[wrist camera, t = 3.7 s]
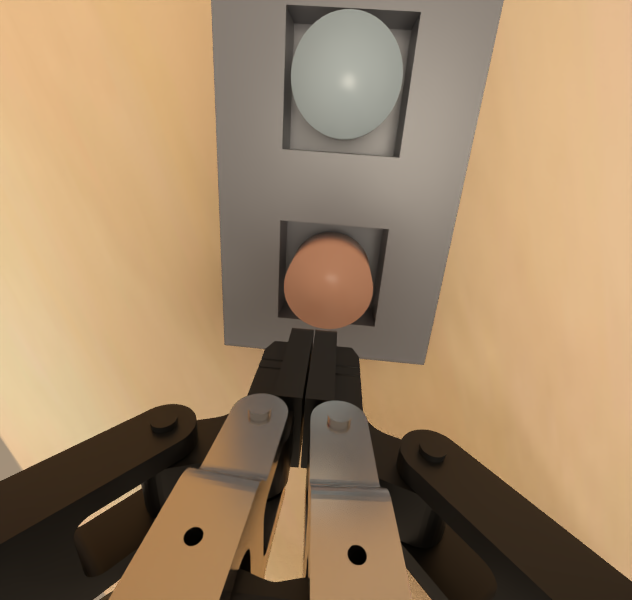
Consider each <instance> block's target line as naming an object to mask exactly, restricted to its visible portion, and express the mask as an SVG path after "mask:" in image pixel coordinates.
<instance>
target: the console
mask: <svg viewBox="0 0 632 600" xmlns="http://www.w3.org/2000/svg"><path fill="white" fill-rule="evenodd" d="M503 1H504V0H211V7H212V33H213V58H214V84H215V110H216V136H217V161H218V187H219V213H220V239H221V265H222V290H223V316H224V342H225V345H230V346H240V347H250V348H260V349H265V348H267V347H268V346H269V345H270V344H272V343H273V342H274V341H283V342H288V340H289V337H290V333H291V330H292V328H302V329H314V337H315V330H326V331H337V346H339V347H350V348H353V350H354V351H355V352H356V354H357V355H358V356H359V358H360V359H370V360H380V361H390V362H400V363H410V364H420V365H424V363H425V358H426V353H427V349H428V344H429V340H430V335H431V331H432V326H433V321H434V317H435V312H436V308H437V303H438V299H439V294H440V289H441V285H442V280H443V276H444V271H445V267H446V262H447V257H448V253H449V248H450V244H451V239H452V235H453V230H454V225H455V221H456V216H457V212H458V207H459V203H460V198H461V193H462V189H463V184H464V180H465V175H466V171H467V166H468V161H469V157H470V152H471V148H472V143H473V139H474V134H475V129H476V125H477V120H478V116H479V111H480V107H481V102H482V97H483V93H484V88H485V84H486V79H487V75H488V70H489V65H490V61H491V56H492V52H493V47H494V43H495V38H496V33H497V29H498V24H499V20H500V15H501V11H502V6H503ZM342 9H356V10H361V11H365V12H368V13H370V14H372V15H374V16H375V17H377V18H378V19H380V20H381V21H382V22H383V23H384V24H385V25H386V26H387V27H388V28H389V30H390V31H391V32H392V34H393V36H394V37H395V39H396V41H397V44H398V46H399V49H400V52H401V56H402V63H403V78H402V85H401V90H400V93H399V96H398V99H397V101H396V103H395V106H394V107H393V109H392V111H391V112H390V114H389V115H388V116H387V118H386V119H385V120H384V121H383V122H382V123H381V124H380V125H379V126H378V127H376V128H375V129H374V130H372V131H371V132H369V133H368V134H366V135H364V136H362V137H360V138H356V139H352V140H338V139H334V138H330V137H328V136H326V135H324V134H322V133H321V132H319V131H317V130H316V129H315V128H313V127H312V126H311V125H310V124H309V123H308V122H307V121H306V120H305V118H304V117H303V116H302V114H301V113H300V111H299V109H298V107H297V105H296V102H295V99H294V96H293V92H292V86H291V68H292V62H293V57H294V54H295V51H296V48H297V46H298V44H299V42H300V40H301V38H302V37H303V35H304V34H305V33H306V31H307V30H308V29H309V28H310V27H311V26H312V25H313V24H314V23H315V22H316V21H317V20H319V19H320V18H321V17H323V16H325V15H327V14H329V13H331V12H334V11H337V10H342ZM324 232H336V233H341V234H345V235H347V236H349V237H351V238H352V239H354V240H355V241H356V242H358V243H359V244H360V245H361V247H362V248H363V249H364V251H365V253H366V255H367V258H368V261H369V266H370V271H371V276H372V282H373V294H372V299H371V302H370V304H369V306H368V308H367V310H366V311H365V312H364V314H363V315H362V316H361V317H360V318H359V319H357V320H356V321H355V322H353V323H351V324H349V325H347V326H344V327H341V328H337V329H322V328H317V327H314V326H311V325H309V324H307V323H305V322H303V321H302V320H301V319H299V318H298V317H297V316H296V315H295V314H294V313H293V311H292V310H291V309H290V307H289V305H288V303H287V301H286V298H285V293H284V280H285V276H286V273H287V270H288V268H289V266H290V264H291V262H292V260H293V258H294V256H295V254H296V252H297V250H298V249H299V247H300V246H301V245H302V244H303V243H304V242H305V241H306V240H307V239H309V238H310V237H312V236H314V235H317V234H320V233H324ZM313 343H314V338H313Z"/></svg>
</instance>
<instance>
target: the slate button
mask: <svg viewBox="0 0 632 600" xmlns="http://www.w3.org/2000/svg"><path fill="white" fill-rule="evenodd" d="M402 78H403V63H402V56H401V52H400V49H399V46H398V44H397V41H396V39H395V37H394V36H393V34H392V32H391V31H390V30H389V28H388V27H387V26H386V25H385V24H384V23H383V22H382V21H381V20H380V19H378V18H377V17H375V16H374V15H372V14H370V13H368V12H365V11H361V10H356V9H342V10H337V11H334V12H331V13H329V14H327V15H325V16H323V17H321V18H320V19H319V20H317V21H316V22H315V23H314V24H313V25H312V26H311V27H310V28H309V29H308V30H307V31H306V33H305V34H304V35H303V37H302V38H301V40H300V42H299V44H298V46H297V48H296V51H295V54H294V57H293V62H292V68H291V86H292V92H293V96H294V99H295V102H296V105H297V107H298V109H299V111H300V113H301V114H302V116H303V117H304V118H305V120H306V121H307V122H308V123H309V124H310V125H311V126H312V127H313V128H315V129H316V130H317V131H319V132H321V133H322V134H324V135H326V136H328V137H330V138H334V139H338V140H352V139H356V138H360V137H362V136H364V135H366V134H368V133H369V132H371V131H372V130H374V129H375V128H376V127H378V126H379V125H380V124H381V123H382V122H383V121H384V120H385V119H386V118H387V116H388V115H389V114H390V112H391V111H392V109H393V107H394V106H395V103H396V101H397V99H398V96H399V93H400V90H401V85H402Z"/></svg>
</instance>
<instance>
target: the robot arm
mask: <svg viewBox="0 0 632 600" xmlns="http://www.w3.org/2000/svg"><path fill="white" fill-rule="evenodd" d="M313 338H314V343H313ZM302 438H303V441H302ZM301 445H302V457H301V468H307V475H306V489H305V511H304V548H303V578H299V579H293V580H287V581H282V582H270V581H267V580H265V579H264V577H265V571H266V566H267V562H268V558H269V554H270V550H271V546H272V542H273V538H274V534H275V530H276V527H277V523H278V519H279V515H280V511H281V507H282V503H283V499H284V495H285V486H286V484H287V481H288V476H289V470H290V467H299V460H300V452H301ZM140 484H141V486H142V489H140V490H139V491H137V492H135V493H134V494H132V495H131V496H129V497H127V498H126V499H124V500H123V501H121V502H119V503H118V504H116V505H115V506H113V507H111V508H110V509H108V510H106V511H105V512H103V513H102V514H100V515H98V516H97V517H95V518H94V519H92V520H90V521H89V522H87V523H86V524H84V525H82V526H80V527H78V526H79V525H80V524H81V522H82V521H83V520H84V519H86V518H87V517H88V516H90V515H91V514H93V513H94V512H96V511H98V510H99V509H101V508H102V507H104V506H106V505H107V504H109V503H111V502H112V501H114V500H116V499H117V498H119V497H120V496H122V495H124V494H125V493H127V492H129V491H130V490H132V489H134V488H135V487H137V486H138V485H140ZM77 527H78V528H77ZM406 568H407V569H408V571H409V572H410V573H411V574H412V576H413V577H414V578H415V579H416V581H417V582H418V583H419V584H420V586H421V587H422V588H423V589H424V590H425V592H426V593H427V594H428V595H429V597H430V598H431V599H432V600H632V581H630V580H629V579H628V578H627V577H625V576H624V575H623V574H621V573H620V572H619V571H618V570H616V569H615V568H614V567H612V566H611V565H610V564H609V563H607V562H606V561H605V560H604V559H602V558H601V557H600V556H598V555H597V554H596V553H595V552H593V551H592V550H591V549H590V548H588V547H587V546H586V545H584V544H583V543H582V542H581V541H579V540H578V539H577V538H575V537H574V536H573V535H572V534H570V533H569V532H568V531H567V530H565V529H564V528H563V527H561V526H560V525H559V524H558V523H556V522H555V521H554V520H553V519H551V518H550V517H549V516H547V515H546V514H545V513H544V512H542V511H541V510H540V509H538V508H537V507H536V506H535V505H533V504H532V503H531V502H530V501H528V500H527V499H526V498H524V497H523V496H522V495H521V494H519V493H518V492H517V491H515V490H514V489H513V488H512V487H510V486H509V485H508V484H507V483H505V482H504V481H503V480H501V479H500V478H499V477H498V476H496V475H495V474H494V473H493V472H491V471H490V470H489V469H487V468H486V467H485V466H484V465H482V464H481V463H480V462H478V461H477V460H476V459H475V458H473V457H472V456H471V455H470V454H468V453H467V452H466V451H464V450H463V449H462V448H461V447H459V446H458V445H457V444H455V443H454V442H453V441H452V440H450V439H449V438H447V437H446V436H444V435H442V434H440V433H437V432H434V431H430V430H414V431H411V432H409V433H407V434H406V435H405V436H404V437H403V438H402V440H401V439H398V438H395V437H393V436H390V435H387V434H385V433H383V432H381V431H379V430H377V429H376V428H374V427H373V426H372V425H371V424H370V423H369V422H368V421H367V418H366V416H365V414H364V413H363V407H362V392H361V378H360V364H359V356H358V355H357V354H356V352H355V351H354V350H353V348H350V347H339V346H337V331H326V330H315V337H314V329H302V328H292V330H291V333H290V337H289V340H288V342H283V341H274V342H273V343H272V344H270V345H269V346H268V347H267V348H265V351H264V354H263V356H262V360H261V361H260V364H259V368H258V369H257V372H256V374H255V377H254V380H253V382H252V385H251V388H250V390H249V393H248V395H247V396H246V397H244V398H242V399H240V400H239V401H237V402H236V403H235V405H234V406H233V407H232V409H231V411H230V413H229V414H227V415H225V416H221V417H216V418H210V419H203V420H196V415H195V413H194V412H193V411H192V410H191V409H190V408H188V407H186V406H183V405H178V404H168V405H162V406H158V407H155V408H153V409H150V410H148V411H146V412H144V413H142V414H140V415H138V416H136V417H134V418H132V419H130V420H127V421H125V422H123V423H121V424H119V425H117V426H115V427H113V428H111V429H109V430H107V431H104V432H102V433H100V434H98V435H96V436H94V437H92V438H90V439H88V440H86V441H84V442H81V443H79V444H77V445H75V446H73V447H71V448H69V449H67V450H65V451H63V452H61V453H58V454H56V455H54V456H52V457H50V458H48V459H46V460H44V461H42V462H40V463H37V464H35V465H33V466H31V467H29V468H27V469H25V470H23V471H21V472H19V473H17V474H15V475H12V476H10V477H8V478H6V479H4V480H2V481H0V600H93V599H94V598H96V597H97V596H99V595H100V594H101V593H102V592H104V591H105V590H106V589H108V588H109V587H110V586H112V585H113V584H114V583H116V582H117V581H118V580H119V579H120V581H119V583H118V584H117V586H116V588H115V589H114V591H112V592H110V593H109V594H107V595H106V596H104V597H103V598H101V599H100V600H413V598H412V593H411V589H410V584H409V579H408V575H407V570H406Z"/></svg>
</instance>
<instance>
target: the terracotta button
mask: <svg viewBox="0 0 632 600" xmlns="http://www.w3.org/2000/svg"><path fill="white" fill-rule="evenodd" d="M284 293H285V298H286V301H287V303H288V305H289V307H290V309H291V310H292V311H293V313H294V314H295V315H296V316H297V317H298V318H299V319H301V320H302V321H303V322H305V323H307V324H309V325H311V326H314V327H317V328H322V329H337V328H341V327H344V326H347V325H349V324H351V323H353V322H355V321H356V320H357V319H359V318H360V317H361V316H362V315H363V314H364V312H365V311H366V310H367V308H368V306H369V304H370V302H371V299H372V294H373V282H372V276H371V271H370V266H369V261H368V258H367V255H366V253H365V251H364V249H363V248H362V247H361V245H360V244H359V243H358V242H356V241H355V240H354V239H352V238H351V237H349V236H347V235H345V234H341V233H336V232H324V233H320V234H317V235H314V236H312V237H310V238H309V239H307V240H306V241H305V242H304V243H303V244H302V245H301V246H300V247H299V249H298V250H297V252H296V254H295V256H294V258H293V260H292V262H291V264H290V266H289V268H288V270H287V273H286V276H285V280H284Z"/></svg>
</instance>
